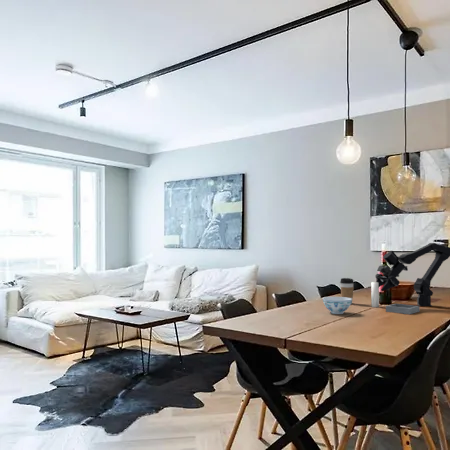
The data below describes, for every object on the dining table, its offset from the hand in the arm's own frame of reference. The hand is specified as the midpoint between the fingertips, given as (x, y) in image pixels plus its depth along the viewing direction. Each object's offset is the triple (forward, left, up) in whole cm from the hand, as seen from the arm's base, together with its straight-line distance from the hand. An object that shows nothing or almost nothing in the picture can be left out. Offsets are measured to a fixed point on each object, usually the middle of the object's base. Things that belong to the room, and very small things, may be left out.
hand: (377, 289), depth 260 cm
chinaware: (+27, +25, -10) cm, 38 cm away
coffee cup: (+16, -12, -10) cm, 22 cm away
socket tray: (-9, +16, -10) cm, 21 cm away
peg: (+2, 0, -10) cm, 10 cm away
